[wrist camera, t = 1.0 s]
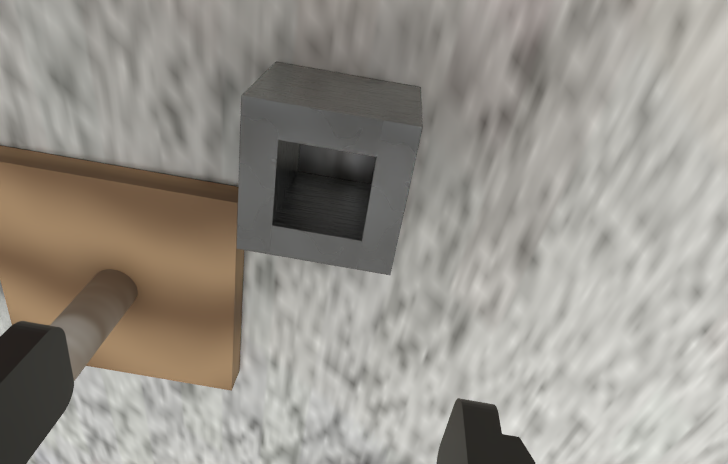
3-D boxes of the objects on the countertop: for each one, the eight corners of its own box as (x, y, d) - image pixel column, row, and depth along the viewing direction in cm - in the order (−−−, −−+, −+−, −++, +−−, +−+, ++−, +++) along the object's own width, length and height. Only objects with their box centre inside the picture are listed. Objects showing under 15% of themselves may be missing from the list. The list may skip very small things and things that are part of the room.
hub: (275, 61, 21) (241, 95, 17) (420, 87, 21) (422, 127, 17) (267, 192, 24) (236, 248, 20) (394, 213, 24) (390, 275, 20)
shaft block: (-8, 144, 24) (-191, 237, 17) (246, 188, 24) (174, 300, 17) (36, 336, 30) (-84, 465, 23) (239, 370, 30) (184, 511, 23)
